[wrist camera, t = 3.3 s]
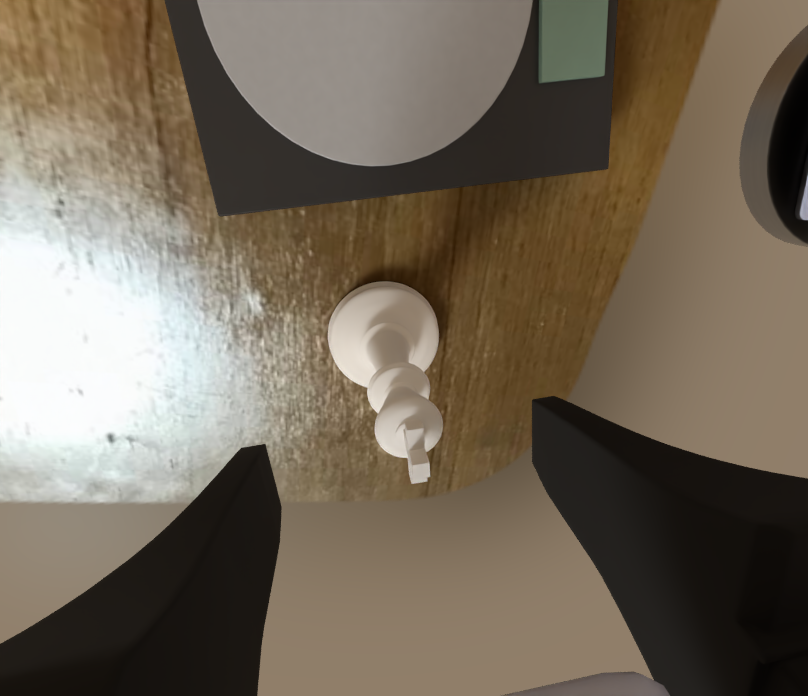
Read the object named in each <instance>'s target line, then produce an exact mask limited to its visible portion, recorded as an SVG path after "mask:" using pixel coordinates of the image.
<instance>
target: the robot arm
mask: <svg viewBox="0 0 808 696" xmlns="http://www.w3.org/2000/svg"><path fill="white" fill-rule="evenodd" d="M795 216H796V218H797V219H800V220H808V150H807V155H806V159H805V164H804V169H803V174H802V179H801V184H800V188H799V193H798V198H797V203H796V208H795ZM532 462H533V465H534V467H535V469H536V471H537V473H538V475H539V478H540V480H541V481H542V484H543V486H544V487H545V490H546V492H547V493H548V495H549V497H550V498H551V499H552V501H553V503H554V504H555V506H556V507H557V509H558V510H559V512H560V513H561V515H562V517H563V518H564V519H565V521H566V522H567V524H568V525H569V527H570V528H571V530H572V531H573V533H574V534H575V536H576V537H577V539H578V540H579V542H580V543H581V545H582V546H583V548H584V549H585V551H586V552H587V554H588V555H589V557H590V558H591V560H592V561H593V563H594V565H595V566H596V568H597V570H598V571H599V573H600V574H601V576H602V577H603V579H604V582H605V583H606V585H607V587H608V589H609V591H610V593H611V595H612V597H613V599H614V600H615V602H616V604H617V606H618V608H619V610H620V612H621V614H622V616H623V618H624V619H625V621H626V623H627V626H628V627H629V630H630V631H631V634H632V636H633V638H634V640H635V642H636V644H637V645H638V647H639V650H640V652H641V654H642V655H643V658H644V660H645V662H646V664H647V666H648V668H649V670H650V673H651V675H652V677H653V679H654V680H652V679H650V678H648V677H646V676H644V675H642V674H639V673H636V672H614V673H600V674H596V675H591V676H587V677H582V678H578V679H574V680H569V681H564V682H560V683H555V684H551V685H546V686H542V687H538V688H533V689H529V690H524V691H520V692H515V693H511V694H507V695H502V696H808V479H807V478H800V477H795V476H789V475H784V474H778V473H772V472H768V471H762V470H758V469H753V468H748V467H744V466H740V465H736V464H732V463H728V462H724V461H720V460H716V459H712V458H709V457H705V456H701V455H698V454H695V453H692V452H689V451H685V450H682V449H679V448H676V447H673V446H670V445H667V444H664V443H661V442H659V441H656V440H654V439H651V438H649V437H646V436H644V435H641V434H638V433H636V432H633V431H631V430H629V429H626V428H624V427H622V426H619V425H617V424H615V423H613V422H610V421H608V420H606V419H604V418H601V417H600V416H597V415H595V414H593V413H591V412H589V411H586V410H585V409H582V408H580V407H578V406H576V405H574V404H572V403H570V402H567V401H565V400H563V399H560V398H558V397H555V396H551V397H545V398H539V399H533V400H532ZM280 528H281V503H280V499H279V495H278V491H277V487H276V484H275V480H274V476H273V472H272V468H271V464H270V461H269V457H268V453H267V449H266V445H265V444H262V445H256V446H250V447H244V448H241V449H240V450H239V451H238V452H237V453H236V454H235V455H234V456H233V458H232V459H231V460H230V461H229V462H228V463H227V464H226V466H225V467H224V468H223V469H222V470H221V471H220V472H219V473H218V475H217V476H216V477H215V478H214V479H213V480H212V481H211V482H210V483H209V485H208V486H207V487H206V488H205V489H204V490H203V491H202V492H201V493H200V494H199V496H198V497H197V498H196V499H195V500H194V501H193V502H192V503H191V504H190V505H189V506H188V507H187V508H186V509H185V510H184V511H183V512H182V513H181V514H180V515H179V516H178V517H177V518H176V519H175V520H174V521H173V522H172V523H171V524H170V525H169V526H167V527H166V528H165V529H164V530H163V531H162V532H161V533H160V534H159V535H158V536H156V537H155V538H154V539H153V540H152V541H151V542H149V543H148V544H147V545H146V546H145V547H144V548H142V549H141V550H140V551H139V552H138V553H136V554H135V555H134V556H133V557H131V558H130V559H129V560H128V561H126V562H125V563H124V564H122V565H121V566H120V567H118V568H117V569H116V570H114V571H113V572H112V573H110V574H109V575H107V576H106V577H105V578H103V579H102V580H101V581H99V582H98V583H97V584H95V585H94V586H93V587H91V588H90V589H88V590H87V591H86V592H84V593H83V594H81V595H80V596H78V597H77V598H75V599H74V600H72V601H71V602H69V603H68V604H66V605H65V606H63V607H62V608H60V609H58V610H57V611H55V612H54V613H52V614H50V615H49V616H47V617H46V618H44V619H42V620H41V621H39V622H38V623H36V624H34V625H33V626H31V627H29V628H28V629H26V630H24V631H22V632H21V633H19V634H17V635H15V636H14V637H12V638H10V639H9V640H7V641H5V642H3V643H1V644H0V696H257V691H258V679H259V668H260V656H261V645H262V638H263V631H264V624H265V619H266V614H267V609H268V603H269V597H270V593H271V587H272V582H273V577H274V571H275V566H276V560H277V554H278V549H279V543H280Z"/></svg>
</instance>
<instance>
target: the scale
mask: <svg viewBox="0 0 808 696" xmlns="http://www.w3.org/2000/svg"><path fill="white" fill-rule="evenodd" d="M165 4H166V8H167V12H168V16H169V20H170V24H171V28H172V32H173V36H174V40H175V44H176V48H177V52H178V56H179V60H180V64H181V68H182V72H183V76H184V80H185V84H186V88H187V92H188V96H189V100H190V104H191V108H192V112H193V116H194V120H195V124H196V128H197V132H198V136H199V140H200V144H201V148H202V152H203V156H204V160H205V164H206V168H207V172H208V176H209V180H210V184H211V188H212V192H213V196H214V200H215V204H216V208H217V212H218V215H219V216H220V217H221V216H229V215H237V214H245V213H254V212H262V211H270V210H278V209H286V208H294V207H303V206H311V205H319V204H327V203H335V202H344V201H352V200H360V199H368V198H376V197H384V196H393V195H401V194H409V193H417V192H425V191H434V190H442V189H450V188H458V187H466V186H474V185H483V184H491V183H499V182H507V181H515V180H524V179H532V178H540V177H548V176H556V175H564V174H573V173H581V172H589V171H597V170H605V169H608V163H609V145H610V128H611V111H612V93H613V76H614V58H615V41H616V23H617V6H618V0H165Z"/></svg>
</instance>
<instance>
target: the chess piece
mask: <svg viewBox="0 0 808 696" xmlns="http://www.w3.org/2000/svg"><path fill="white" fill-rule="evenodd" d="M328 343H329V348H330V351H331V354H332V356H333V359H334V361H335V363H336V364H337V366H338V368H339V369H340V370H341V371H342V372H343V374H344V375H346V376H347V377H348V378H349V379H351V380H352V381H354V382H355V383H357V384H359V385H362V386H364V387H368V390H367V395H368V400H369V402H370V404H371V406H372V408H373V409H374V410H375V411H376V412H377V413H378V416H377V418H376V422H375V436H376V439H377V441H378V443H379V445H380V446H381V447H382V448H383V449H384V450H385V451H386V452H388V453H389V454H391V455H394V456H397V457H401V458H408V466H409V475H410V479H411V484H414V483H421V482H427V477H430V465H429V460H428V457H427V454H426V452H428V451H429V450H430V449H432V448H433V447H434V446H435V445H436V443H437V442H438V440H439V439H440V437H441V434H442V430H443V420H442V416H441V414H440V412H439V410H438V409H437V407H436V406H435V405H434V404H433V403H432V402H431V401H429V400H428V399H429V394H430V383H429V380H428V378H427V376H426V374H425V373H424V372H425V370H426V369H427V368H428V367H429V365H430V364H431V362H432V361H433V359H434V357H435V354H436V352H437V348H438V343H439V329H438V323H437V319H436V316H435V313H434V311H433V309H432V307H431V305H430V304H429V303H428V301H427V300H426V299H425V298H424V297H423V296H422V295H421V294H420V293H419V292H417V291H416V290H414V289H413V288H411V287H409V286H406V285H404V284H401V283H396V282H389V281H380V282H373V283H369V284H366V285H363V286H361V287H359V288H357V289H355V290H353V291H352V292H350V293H349V294H348V295H347V296H345V297H344V298H343V299H342V300H341V302H340V303H339V304H338V305H337V307H336V309H335V310H334V312H333V314H332V316H331V319H330V323H329V327H328Z"/></svg>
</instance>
